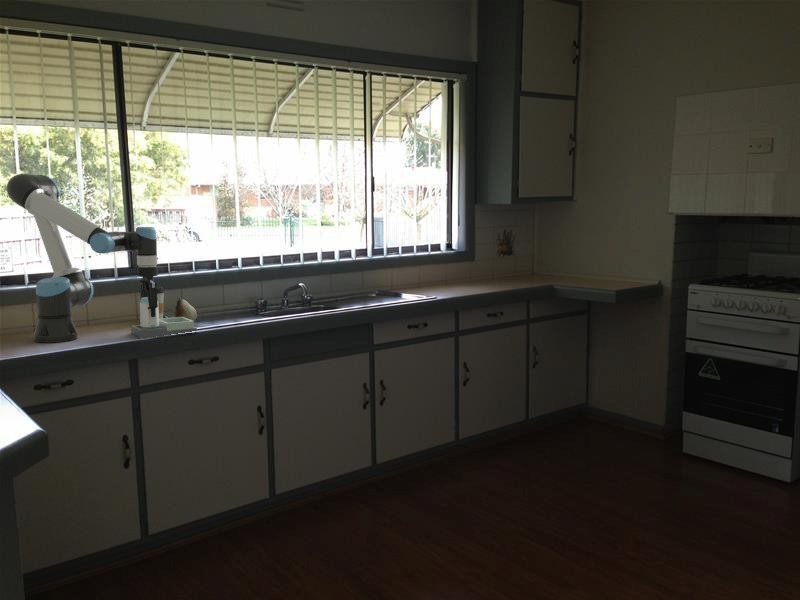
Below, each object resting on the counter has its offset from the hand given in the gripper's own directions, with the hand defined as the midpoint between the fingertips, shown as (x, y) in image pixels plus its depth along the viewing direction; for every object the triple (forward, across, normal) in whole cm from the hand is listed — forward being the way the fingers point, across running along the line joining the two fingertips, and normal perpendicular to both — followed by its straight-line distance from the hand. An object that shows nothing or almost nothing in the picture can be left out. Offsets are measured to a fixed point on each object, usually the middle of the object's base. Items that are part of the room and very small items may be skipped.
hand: (149, 323), depth 281 cm
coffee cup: (+5, +33, -13) cm, 36 cm away
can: (+2, 0, 0) cm, 2 cm away
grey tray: (+4, 0, -6) cm, 7 cm away
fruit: (+5, +14, -20) cm, 25 cm away
